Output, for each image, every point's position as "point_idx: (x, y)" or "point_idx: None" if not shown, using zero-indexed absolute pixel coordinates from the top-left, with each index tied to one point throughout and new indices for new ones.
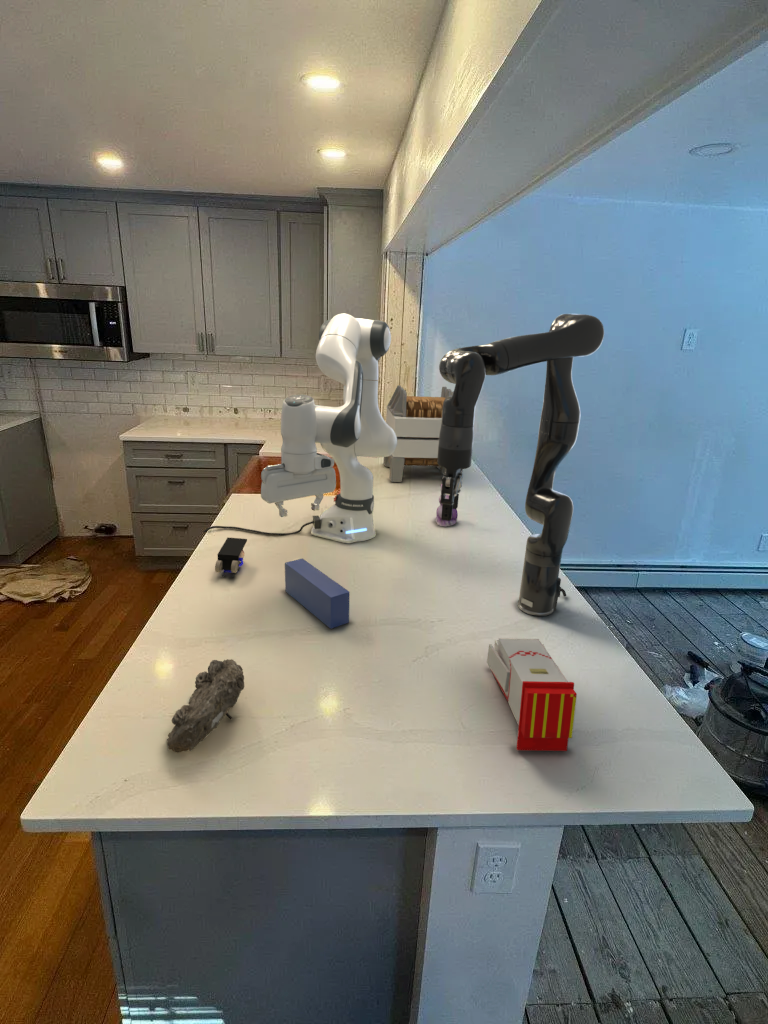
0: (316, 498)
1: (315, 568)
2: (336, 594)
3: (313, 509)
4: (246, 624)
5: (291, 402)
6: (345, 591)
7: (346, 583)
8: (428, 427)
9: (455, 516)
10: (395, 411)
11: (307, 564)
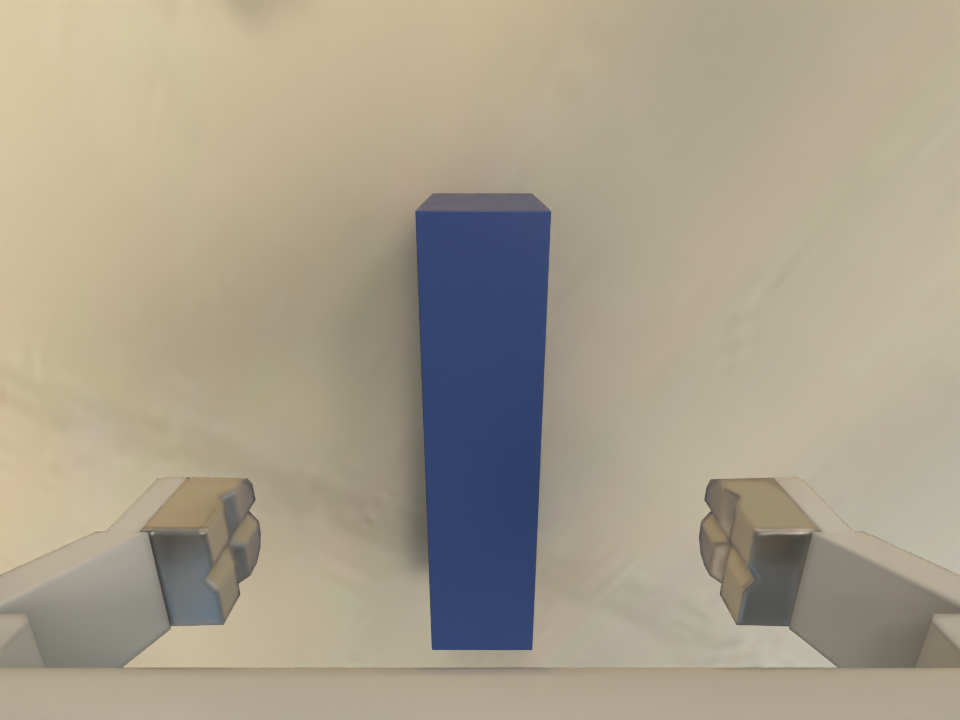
0: (901, 608)
1: (536, 382)
2: (467, 642)
3: (707, 536)
4: (172, 365)
5: None
6: (518, 640)
7: (728, 285)
8: None
9: None
10: None
11: (526, 311)
